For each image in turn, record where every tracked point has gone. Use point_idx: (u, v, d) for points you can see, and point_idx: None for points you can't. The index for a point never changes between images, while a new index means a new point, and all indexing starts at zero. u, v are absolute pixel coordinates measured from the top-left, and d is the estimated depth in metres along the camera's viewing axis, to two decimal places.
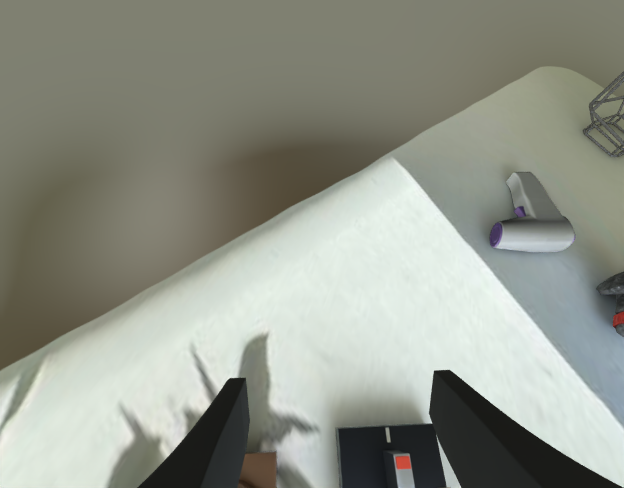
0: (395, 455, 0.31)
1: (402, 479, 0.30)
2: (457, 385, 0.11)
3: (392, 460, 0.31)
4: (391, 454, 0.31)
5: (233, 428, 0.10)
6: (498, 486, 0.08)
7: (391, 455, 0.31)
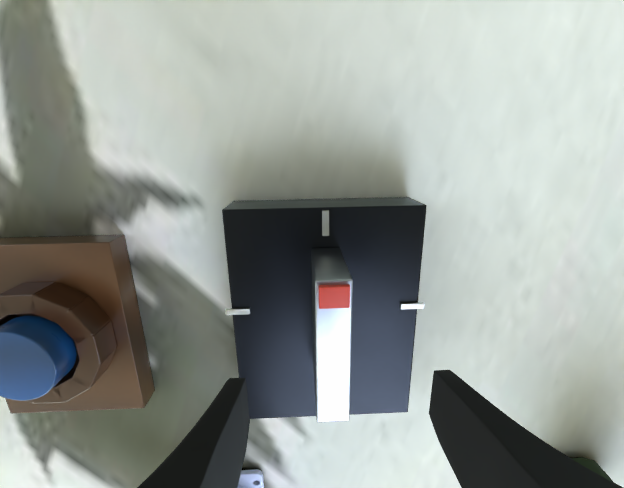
0: (319, 282, 0.13)
1: (327, 322, 0.14)
2: (457, 385, 0.11)
3: (314, 286, 0.14)
4: (314, 275, 0.14)
5: (233, 428, 0.10)
6: (498, 486, 0.08)
7: (314, 276, 0.14)
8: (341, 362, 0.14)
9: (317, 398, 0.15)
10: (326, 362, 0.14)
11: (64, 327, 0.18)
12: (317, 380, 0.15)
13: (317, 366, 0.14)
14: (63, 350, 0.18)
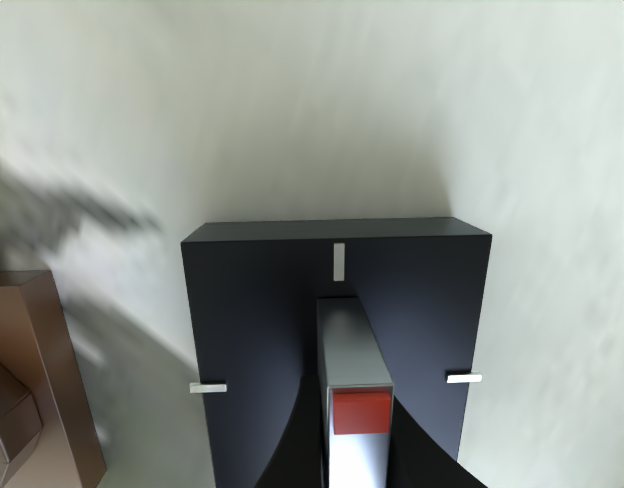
0: (335, 389, 0.07)
1: (347, 452, 0.08)
2: None
3: (324, 384, 0.08)
4: (324, 365, 0.08)
5: None
6: None
7: (324, 368, 0.08)
8: None
9: None
10: None
11: None
12: None
13: None
14: None
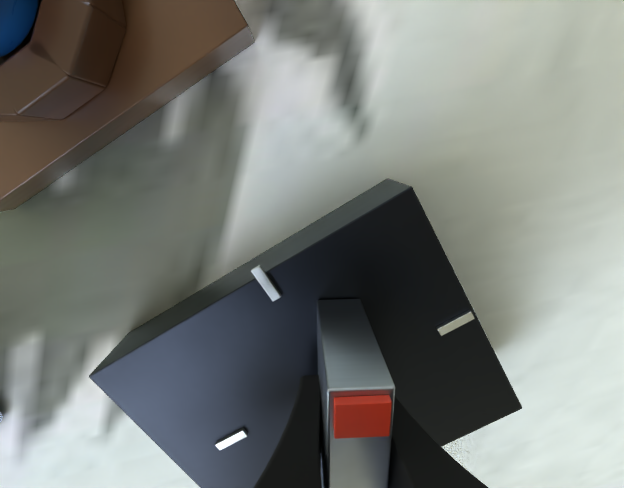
0: (335, 392, 0.07)
1: (348, 455, 0.08)
2: None
3: (324, 387, 0.08)
4: (324, 368, 0.08)
5: None
6: None
7: (324, 371, 0.08)
8: None
9: None
10: None
11: (46, 9, 0.08)
12: None
13: None
14: None
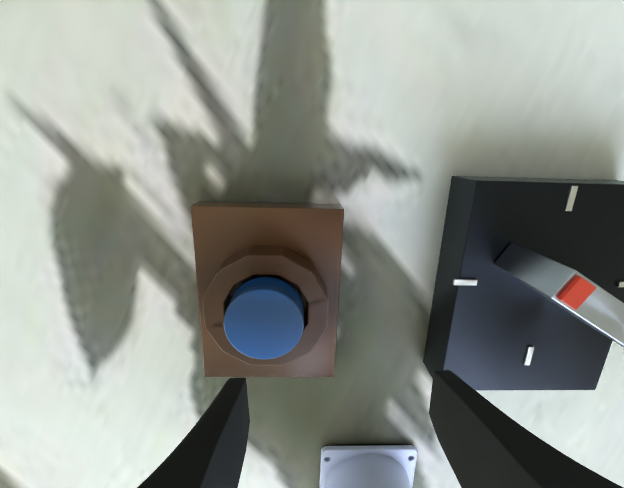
0: (555, 295, 0.14)
1: (589, 309, 0.15)
2: (457, 385, 0.11)
3: (548, 296, 0.15)
4: (539, 290, 0.15)
5: (233, 428, 0.10)
6: (498, 486, 0.08)
7: (540, 292, 0.15)
8: None
9: None
10: (618, 330, 0.15)
11: (303, 289, 0.18)
12: None
13: (614, 338, 0.15)
14: (303, 312, 0.18)
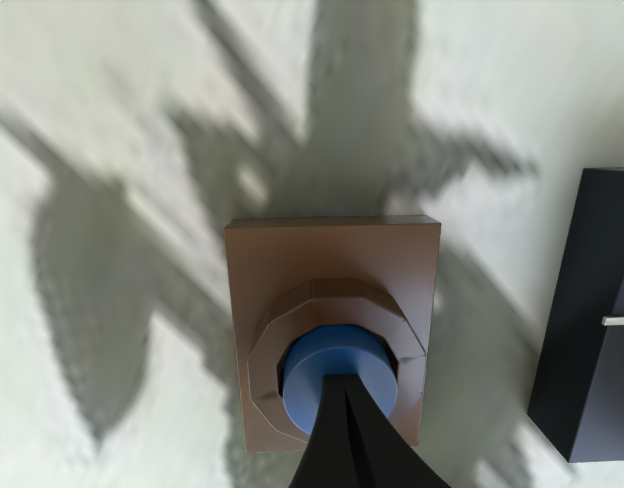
0: None
1: None
2: (354, 389, 0.11)
3: None
4: None
5: None
6: None
7: None
8: None
9: None
10: None
11: (392, 343, 0.13)
12: None
13: None
14: None
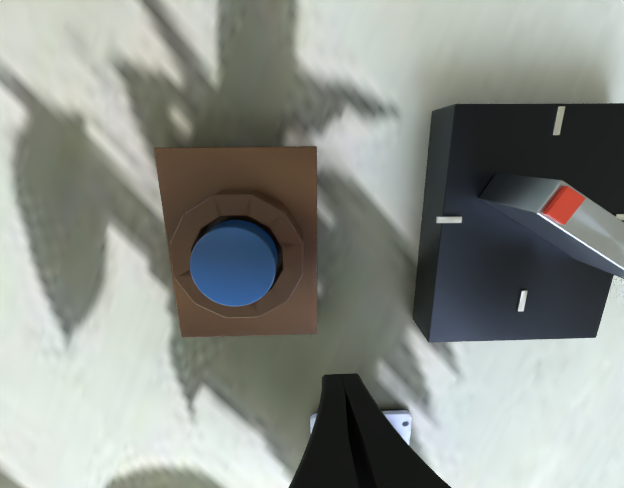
0: (540, 210, 0.13)
1: (580, 225, 0.13)
2: (354, 389, 0.11)
3: (534, 216, 0.14)
4: (524, 210, 0.14)
5: None
6: None
7: (525, 211, 0.14)
8: None
9: None
10: (612, 249, 0.14)
11: (275, 231, 0.17)
12: (621, 267, 0.14)
13: (609, 259, 0.14)
14: (275, 255, 0.17)
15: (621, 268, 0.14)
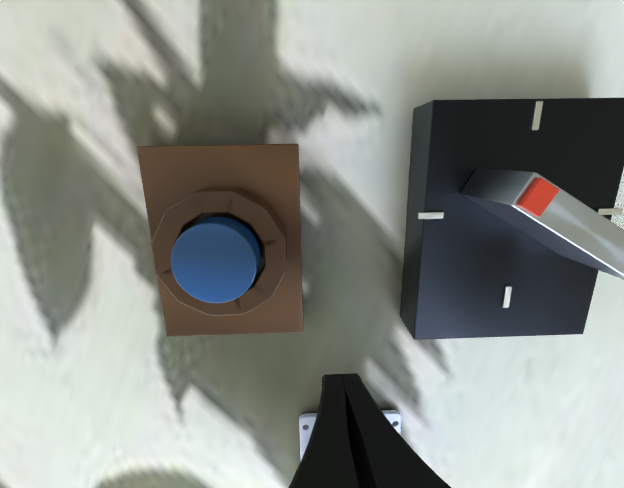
0: (515, 202, 0.13)
1: (555, 217, 0.13)
2: (354, 389, 0.11)
3: (510, 209, 0.14)
4: (500, 203, 0.14)
5: None
6: None
7: (502, 204, 0.14)
8: (600, 227, 0.14)
9: (615, 270, 0.14)
10: (590, 241, 0.14)
11: (257, 228, 0.17)
12: (599, 259, 0.14)
13: (586, 251, 0.14)
14: (257, 251, 0.17)
15: (599, 260, 0.14)
